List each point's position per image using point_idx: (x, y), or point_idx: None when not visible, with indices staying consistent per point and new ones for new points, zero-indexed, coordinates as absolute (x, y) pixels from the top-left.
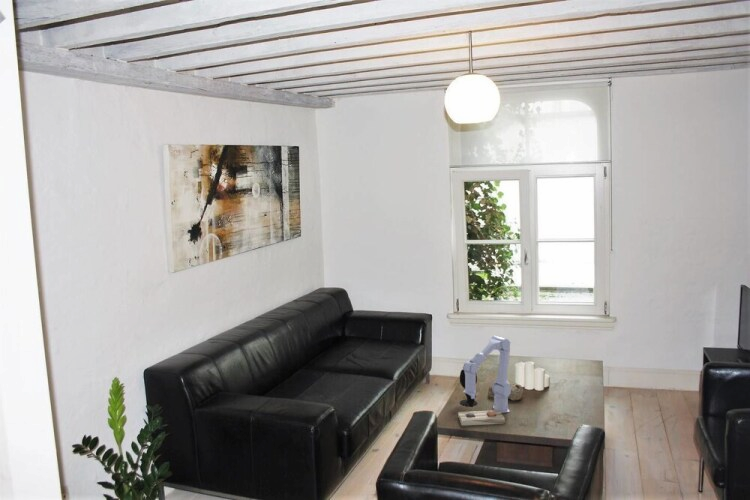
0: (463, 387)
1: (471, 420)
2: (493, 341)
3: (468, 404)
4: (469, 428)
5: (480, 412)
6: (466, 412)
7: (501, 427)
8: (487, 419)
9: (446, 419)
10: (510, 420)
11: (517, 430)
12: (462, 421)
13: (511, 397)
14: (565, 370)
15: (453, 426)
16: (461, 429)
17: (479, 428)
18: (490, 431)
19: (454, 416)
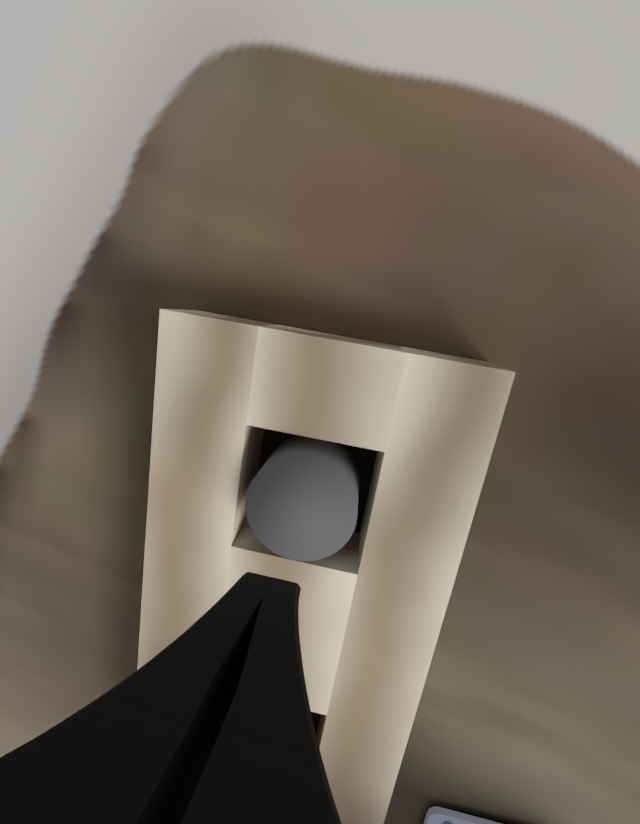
0: None
1: (155, 452)
2: None
3: (227, 603)
4: (102, 372)
5: (374, 670)
6: (445, 500)
7: (80, 677)
8: (139, 643)
9: (474, 157)
10: None
11: (3, 754)
12: (166, 319)
13: None
14: None
15: (197, 184)
16: (87, 262)
17: (86, 479)
18: (2, 549)
19: (537, 325)
